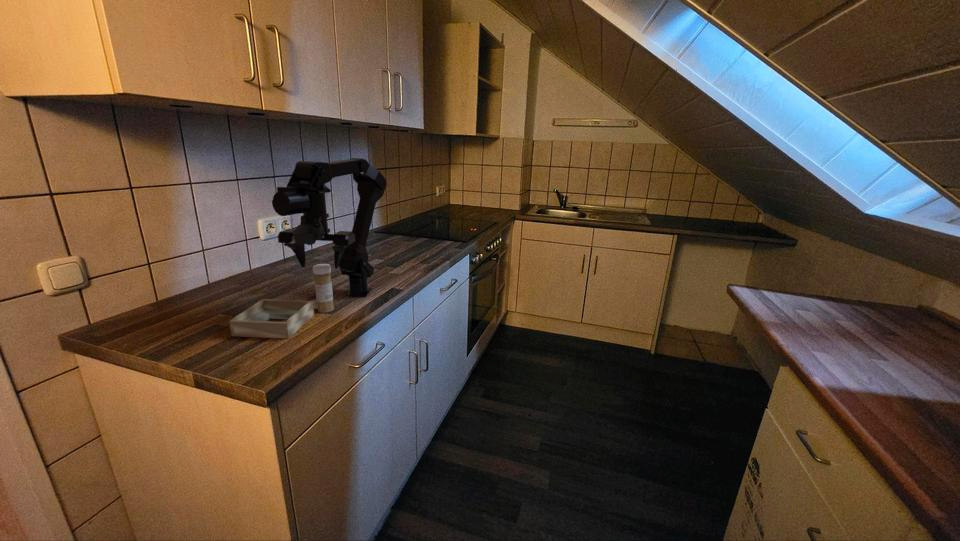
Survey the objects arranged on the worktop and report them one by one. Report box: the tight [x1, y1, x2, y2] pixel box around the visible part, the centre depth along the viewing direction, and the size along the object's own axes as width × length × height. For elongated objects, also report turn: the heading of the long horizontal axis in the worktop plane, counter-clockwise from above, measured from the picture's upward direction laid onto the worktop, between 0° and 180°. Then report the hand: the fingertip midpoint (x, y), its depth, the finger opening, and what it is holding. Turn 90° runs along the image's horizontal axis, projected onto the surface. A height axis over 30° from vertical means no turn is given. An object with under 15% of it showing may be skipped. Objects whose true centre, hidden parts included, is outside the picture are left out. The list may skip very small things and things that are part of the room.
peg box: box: [228, 298, 315, 339], centre depth 97 cm, size 14×14×4 cm
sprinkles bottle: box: [312, 263, 335, 314], centre depth 105 cm, size 5×5×13 cm
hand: (320, 267), depth 103 cm, fingers open, 9 cm apart
